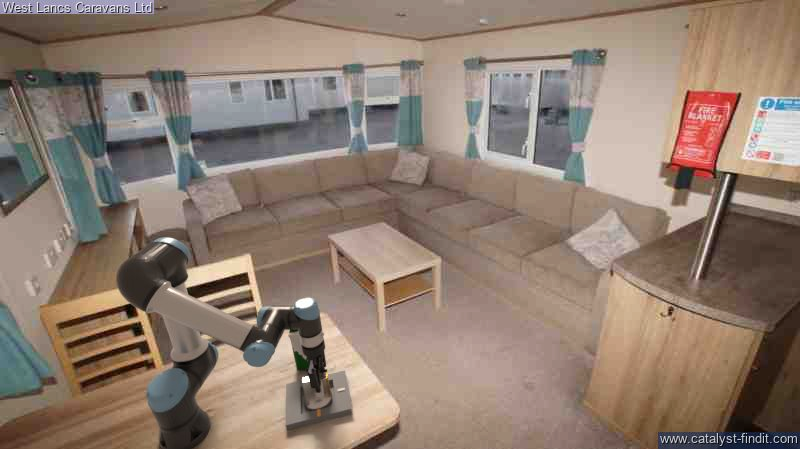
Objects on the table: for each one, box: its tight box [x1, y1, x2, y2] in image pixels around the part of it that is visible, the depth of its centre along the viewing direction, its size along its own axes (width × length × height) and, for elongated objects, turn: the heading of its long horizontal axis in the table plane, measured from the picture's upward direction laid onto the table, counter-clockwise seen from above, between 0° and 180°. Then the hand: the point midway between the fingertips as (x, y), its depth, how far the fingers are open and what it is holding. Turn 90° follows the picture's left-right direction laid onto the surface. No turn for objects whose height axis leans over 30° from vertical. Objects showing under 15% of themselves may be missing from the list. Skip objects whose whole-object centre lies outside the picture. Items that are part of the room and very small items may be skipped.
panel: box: [285, 370, 353, 431], centre depth 136 cm, size 22×18×3 cm
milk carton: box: [288, 329, 309, 371], centre depth 150 cm, size 9×9×20 cm
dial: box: [301, 372, 332, 411], centre depth 134 cm, size 10×10×10 cm
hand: (321, 391), depth 135 cm, fingers closed on dial, 3 cm apart
